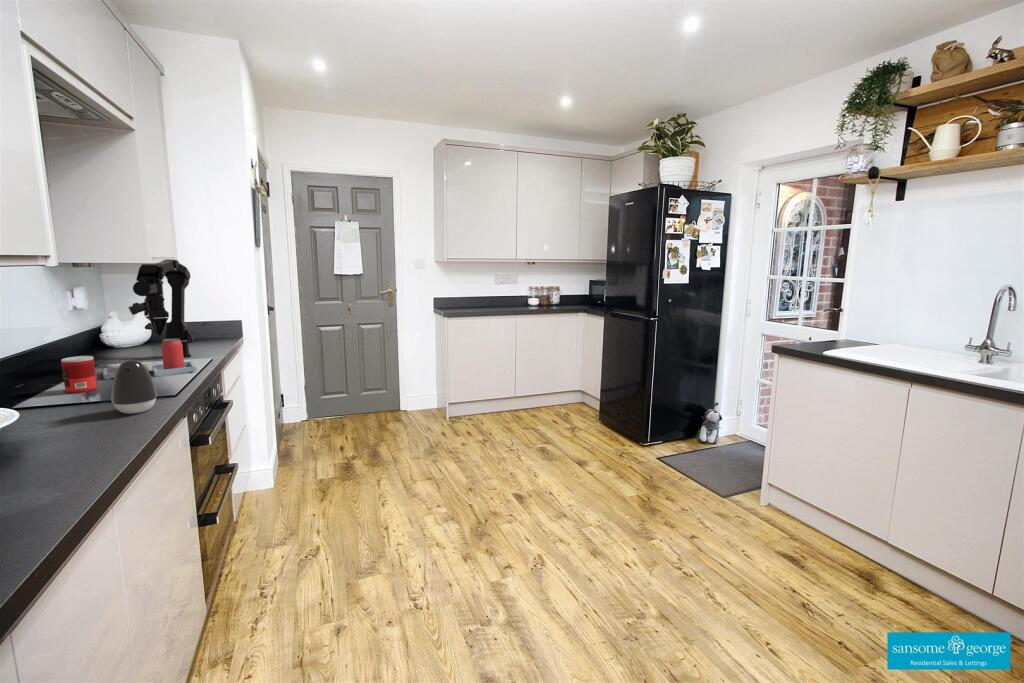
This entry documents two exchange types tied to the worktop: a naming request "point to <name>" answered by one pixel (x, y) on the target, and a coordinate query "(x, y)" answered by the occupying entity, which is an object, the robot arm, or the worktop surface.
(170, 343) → the beer can
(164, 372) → the tray
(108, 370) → the bay frame
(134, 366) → the grey egg-shaped dome
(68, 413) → the worktop surface
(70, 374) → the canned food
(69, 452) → the worktop surface
